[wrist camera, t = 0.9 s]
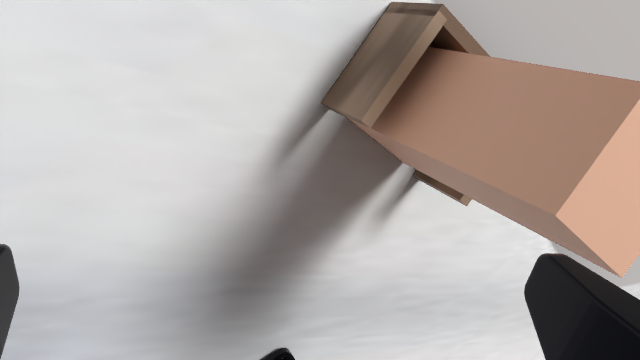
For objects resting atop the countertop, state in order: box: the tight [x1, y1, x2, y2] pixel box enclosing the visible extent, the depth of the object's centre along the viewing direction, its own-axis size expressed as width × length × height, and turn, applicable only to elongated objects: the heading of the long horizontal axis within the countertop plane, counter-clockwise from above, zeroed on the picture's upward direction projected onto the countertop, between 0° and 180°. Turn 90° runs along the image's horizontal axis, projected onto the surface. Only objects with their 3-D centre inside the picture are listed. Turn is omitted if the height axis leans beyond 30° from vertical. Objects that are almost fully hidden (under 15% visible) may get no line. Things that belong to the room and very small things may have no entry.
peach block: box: [348, 47, 640, 278], centre depth 21 cm, size 4×4×13 cm
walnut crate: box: [321, 2, 490, 206], centre depth 25 cm, size 6×8×4 cm
